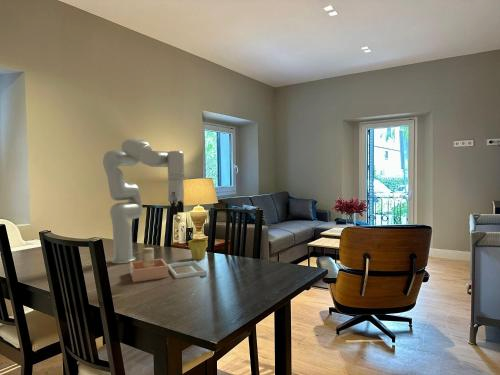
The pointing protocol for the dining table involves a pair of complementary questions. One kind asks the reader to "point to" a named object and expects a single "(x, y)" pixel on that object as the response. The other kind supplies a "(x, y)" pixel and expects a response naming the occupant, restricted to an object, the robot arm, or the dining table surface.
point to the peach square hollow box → (148, 270)
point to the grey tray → (192, 264)
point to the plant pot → (198, 248)
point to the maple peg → (148, 257)
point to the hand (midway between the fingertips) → (177, 213)
